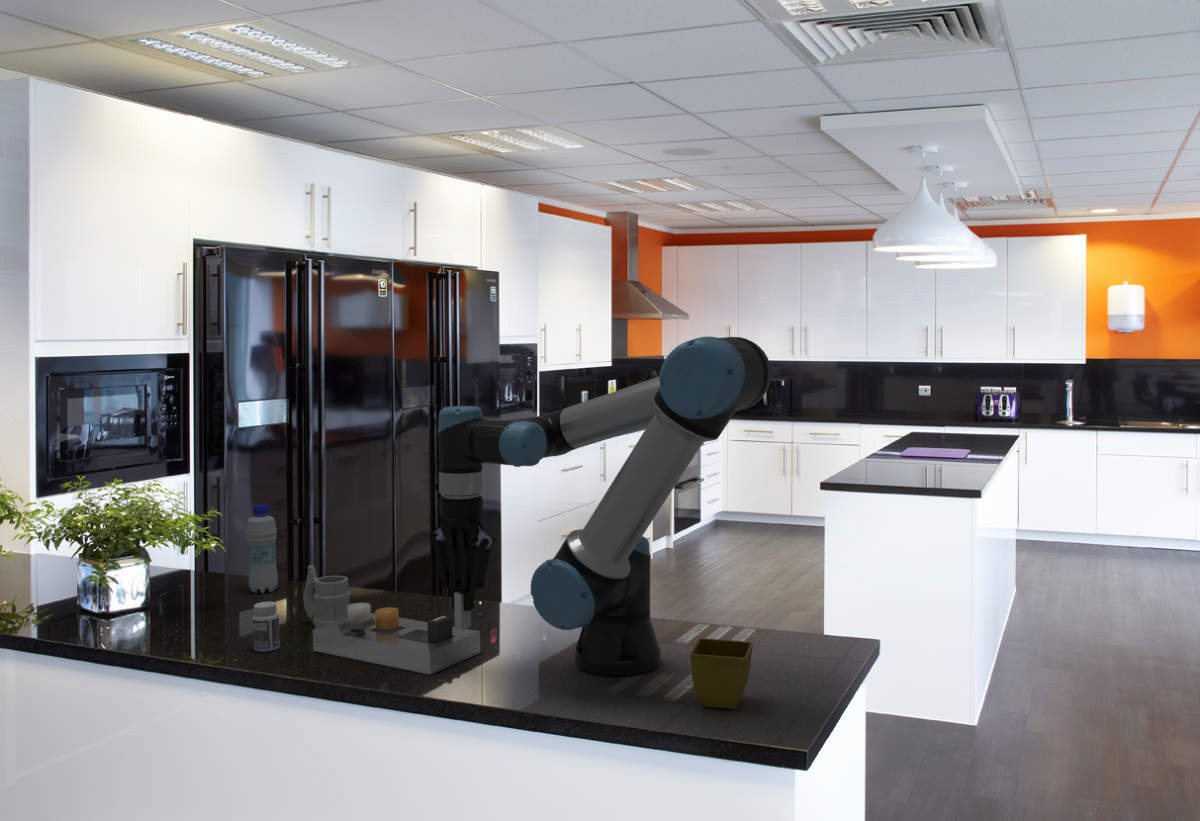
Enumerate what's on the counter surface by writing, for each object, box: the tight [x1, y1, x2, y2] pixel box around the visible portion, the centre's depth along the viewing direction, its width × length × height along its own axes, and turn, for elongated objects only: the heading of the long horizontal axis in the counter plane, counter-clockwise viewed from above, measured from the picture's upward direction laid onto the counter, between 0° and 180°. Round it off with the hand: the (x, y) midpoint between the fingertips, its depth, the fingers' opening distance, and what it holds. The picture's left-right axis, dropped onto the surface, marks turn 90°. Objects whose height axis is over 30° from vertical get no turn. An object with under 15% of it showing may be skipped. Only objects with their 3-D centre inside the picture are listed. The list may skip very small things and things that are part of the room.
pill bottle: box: [251, 601, 281, 653], centre depth 195 cm, size 5×5×8 cm
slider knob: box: [426, 615, 453, 643], centre depth 186 cm, size 2×4×5 cm, turn 149°
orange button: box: [374, 606, 400, 630], centre depth 193 cm, size 4×4×3 cm
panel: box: [312, 612, 481, 675], centre depth 192 cm, size 28×14×5 cm, turn 59°
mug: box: [302, 564, 352, 629], centre depth 209 cm, size 8×12×12 cm, turn 57°
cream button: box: [347, 602, 372, 621], centre depth 196 cm, size 4×4×3 cm
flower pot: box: [689, 637, 754, 710], centre depth 163 cm, size 9×9×9 cm
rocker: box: [339, 618, 375, 631], centre depth 190 cm, size 6×3×1 cm, turn 59°
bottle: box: [245, 504, 279, 594], centre depth 238 cm, size 7×7×20 cm
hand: (463, 627), depth 184 cm, fingers closed
